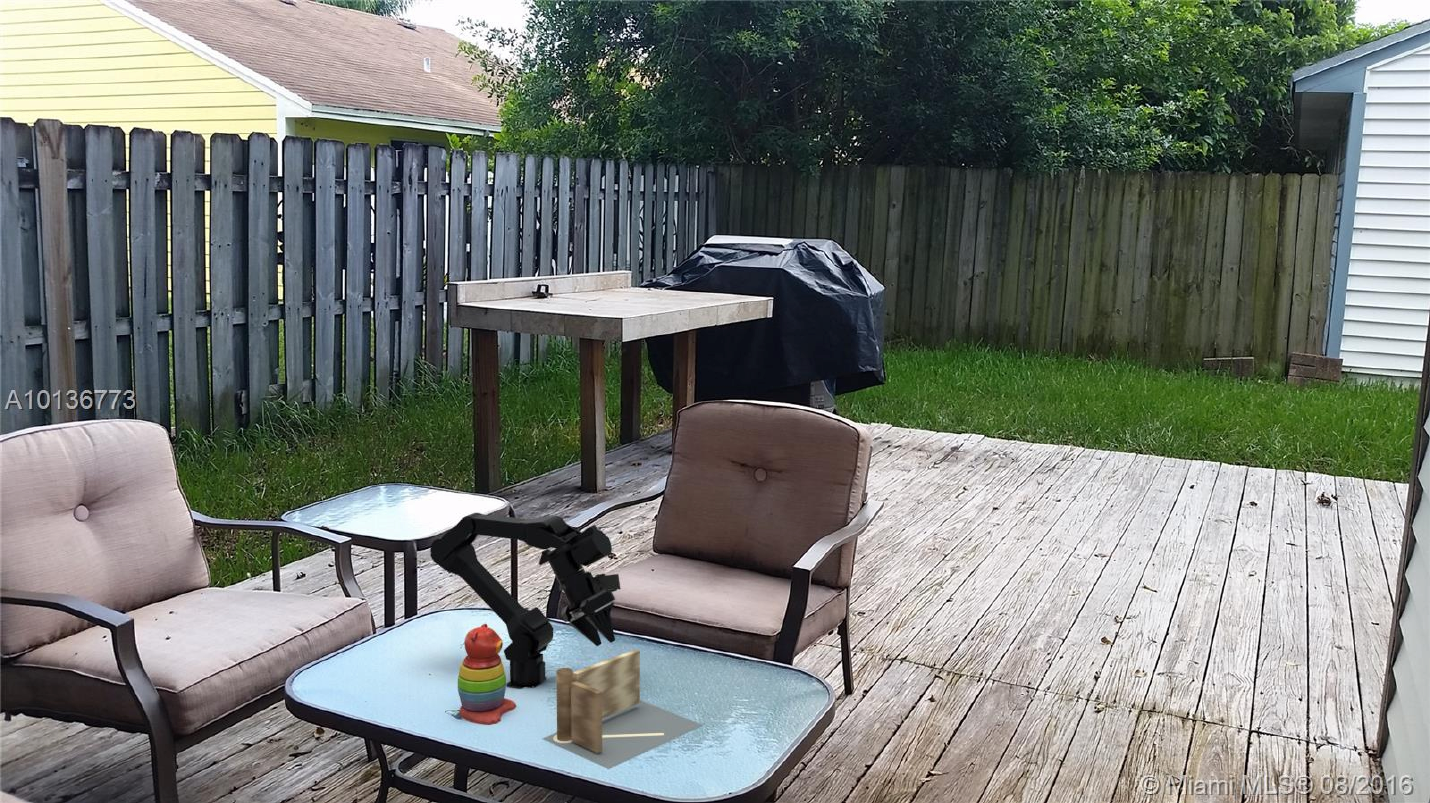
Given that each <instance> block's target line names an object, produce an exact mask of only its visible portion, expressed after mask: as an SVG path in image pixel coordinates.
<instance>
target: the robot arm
mask: <svg viewBox="0 0 1430 803" xmlns="http://www.w3.org/2000/svg"><path fill="white" fill-rule="evenodd" d="M597 527H598V526H597V525H596V524H593V525H591V526H589V527H587V528H585V530H583V531H580V530H578V529H576V528H575V527H573V526H571V525H570V524H568V523H566V521H565V520H564V518H563V517H561V516H559V515H547V516H537V517H534V518H520V517H519V518H518V517H511V516H500V515H492V514H484V513H481V512H473V513H470V514H468V515H466V516H464V517H462V518H461V519H460V520H459V521H458V523H457V524H455V525H454V526H453V527H452V528H451V529H450V530H448V531H447V532H446V533H445V534H444V535H442V536H441V537H438V538H437V539H434V540H433V541H432V542H431V545H430V548H429V550H430V551H429V552H430V554H429V556H430V558H431V560H432V561H433V562H434V563H435V564H436V565H437V566H439V567H440V568H442V569H443V570H444V571H446V572H449V573H450V574H453V575H456V576H458V577H460V578H461V579H462V580H463V581H464V582H465V584H467V585H468V586H469V587H470V588H471V589H472V590H473V592H475V594H476V595H478V596H479V598H481V600H482V601H483V602H484V603H485V604H486V605H487V606H488V607H489V608H490V609H491V610H492V611H493V612H494V614H496V616H498V618H499V619H500V620H502V621H503V623H504V624H505V626H506V630H507V633H508V637H509V639H510V640H511V641H512V642H511V643H510V644H509V645H507V647H505V649H504V650H503V653H504V657H505V659H506V660H507V661H509V681H508V682H506V687H509V688H518V689H524V688H527V689H535V688H537V687H538V686H539V685H541V684H542V683H544V682H545V681H547V679H548V677H547V676H546V662H545V661H544V654H543V653H542V652H544V651H547V648H548V645H549V644H550V643H552V641H553V638H554V627H553V625H552V624H551V622H550V621H551V618H549V617H548V616H545V615H544V614H543V612H542V611H541V609H540V608H538V606H537V607H534V608H532V609H527V608H525V607H524V606H522V605H521V604H520V602H519V601H518V600H516V599H515V598H514V596H513V595H511V593H510V592H509V591H508V590H507V588H505V587H504V586H503V585H502V584H501V583H500V582H499V581H498V580H497V579H496V578H495V577H494V576H493V575H492V573H491V572H490V571H488V569H487V568H485V566H484V565H482V563H481V562H480V561H479V559H478V555H477V553H476V549H475V547H474V545H473V543H474V542H475V541H476V540H477V538H478V536H485V537H494V538H501V539H502V538H503V539H510V540H517V541H518V540H519V541H521V542H523V543H524V544H526V545H528V547H533V548H536V549H539V550H542V551H541V555H540V558H539V561H538V565H540V566H542V565H544V564H545V563H549V566H550V568H551V569H552V572H553V574H554V575H555V577H556V579H557V581H558V583H559V586H558V587H557V588H558V589H559V592H563V593H564V595H565V597H566V599H567V601H568V602H569V604H567V606H565V607H562V610H561V614H560V615H561V618H562V620H563V621H564V623H567V622H568V623H567V624H568V626H571V627H572V628H573V629H575V630H576V631H577V632H579V633H580V634H581V635H582V636H584V637H585V638H586V639H587V640H588V641H590V642H591V643H592V644H593V645H594V646H596V647H599V646H601V645H602V640H601V637H600V634H601V635H602V637H604V638H605V639H606V640H607V642H609V643H614V642H615V641H616V637H615V632H614V628H613V624H612V618H611V616H612V615H611V612H612V609H613V607H614V605H615V602H614V601H615V600H616V597H615V595H614V594H613V593H614V592H617V590H621V583H620V575H619V574H618V573H615V574H607V575H606V574H605V572H603V573H601V574H599V573H597V574H595V575H594V576H593V574H592V572H589V570H588V571H587V572H586V571H585V568H584V567H589V566H591V565H592V564H594V563H596V562H598V561H601V560H603V559H604V558H606V557H608V556H610V555H611V553H612V552H613V548H612V545H613V544H612V542H611V539H610V537H609V536H608V535H606V533H604V531H602V530H601V529H598V528H597ZM567 545H568V547H566V546H567ZM551 548H552V550H551ZM599 633H600V634H599Z"/></svg>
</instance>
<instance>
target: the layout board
mask: <svg viewBox="0 0 1430 803" xmlns="http://www.w3.org/2000/svg"><path fill="white" fill-rule="evenodd" d="M703 726H704V725H703V724H702V723H700V722H697V721H695V720H691V719H689V718H687V717H684V716H681V715H679V714H676V713H674V712H671V711H669V710H666V709H664V708H660V707H659V706H656V705H653V704H651V703H648V702H646V701H643V700H640V703H638V704H636V705H634V706H631V707H629V708H626V709H624V710H622V711H619V712H617V713H614V714H612V715H610V716H607V717H605V718H602V751H601V752H599V753H596V752H593V751H591V750H589V749H587V748H584V747H582V746H580V745H578V744H575V743H573V742H572V740H569V741H559V740H558V739H557V732H555V733H553V734H550V735H547V736H545V737H542V740H544V741H546V742H548V743H550V744H553V745H555V746H557V747H559V748H561V749H564V750H565V751H568V752H570V753H572V754H575V755H577V756H579V757H580V758H583V759H586V760H587V761H590V762H592V763H594V764H596V765H598V766H601V767H603V768H605V769H607V770H609V769H613V768H614V767H616V766H618V765H621V764H622V763H625V762H627V761H630V760H632V759H633V758H636V757H637V756H641V755H642V754H644V753H646V752H649V751H651V750H653V749H655V748H659V746H662V745H665V744H666V743H668V742H670V741H673V740H675V739H676V738H679V737H681V736H684V735H685V734H688V733H691V732H692V731H694V730H696V729H699V728H701V727H703Z"/></svg>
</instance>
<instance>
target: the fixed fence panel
mask: <svg viewBox="0 0 1430 803" xmlns="http://www.w3.org/2000/svg"><path fill="white" fill-rule="evenodd" d="M573 672H574V670H573V669H572V668H569V667H561V668H558V669H556V672H555V673H556V679H555V680H556V682H555V683H556V733H557V739H558V740H559V741H569V740H572V742H573V743H575V744H578V745H580V746H582V747H584V748H587V749H589V750H591V751H593V752H596V753H599V752H601V751H602V691H599V690H597V689H594V688H592V687H589V686H587V685H584V684H582V683H579V682H577V681H575V682H573Z"/></svg>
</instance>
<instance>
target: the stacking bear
mask: <svg viewBox="0 0 1430 803" xmlns="http://www.w3.org/2000/svg"><path fill="white" fill-rule="evenodd" d="M463 643H464V644H463V645H464V649H465V653H466V656H465V657H464V658H463V660H462V662H461V663H460V665H459V672H458V677H457V692H458V696H459V700H460V703H461V706H460V708H459V711H458V712H459V714H458V715H459V716H460V718H462V719H463V720H465V721H467V722H470V723H473V724H478V725H483V726H492V725H496V724H498V723H500V722H501V721H502V719H501V718H502V716H503V715H505V713H509V712H512V711H514V710H515V709H516V708H517V704H516V703H515V701H513V700H511V699H508V698H505V694H506V691H507V690H506V689H507V675H506V671H505V668H504V664H503V660H502V658H501V656H500V654H499V653H500V652H501V651H502V650H503V646H504V645H503V644H504V643H503V639H501V637H500V635H499V633H497V632H496V630H494V629H493V628H491V627H488V624H487V623H482V625H481V626H477V627H475V628H473V629H470V630H469V631H468V632H467V634H466V635H465V638H464V642H463Z"/></svg>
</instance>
